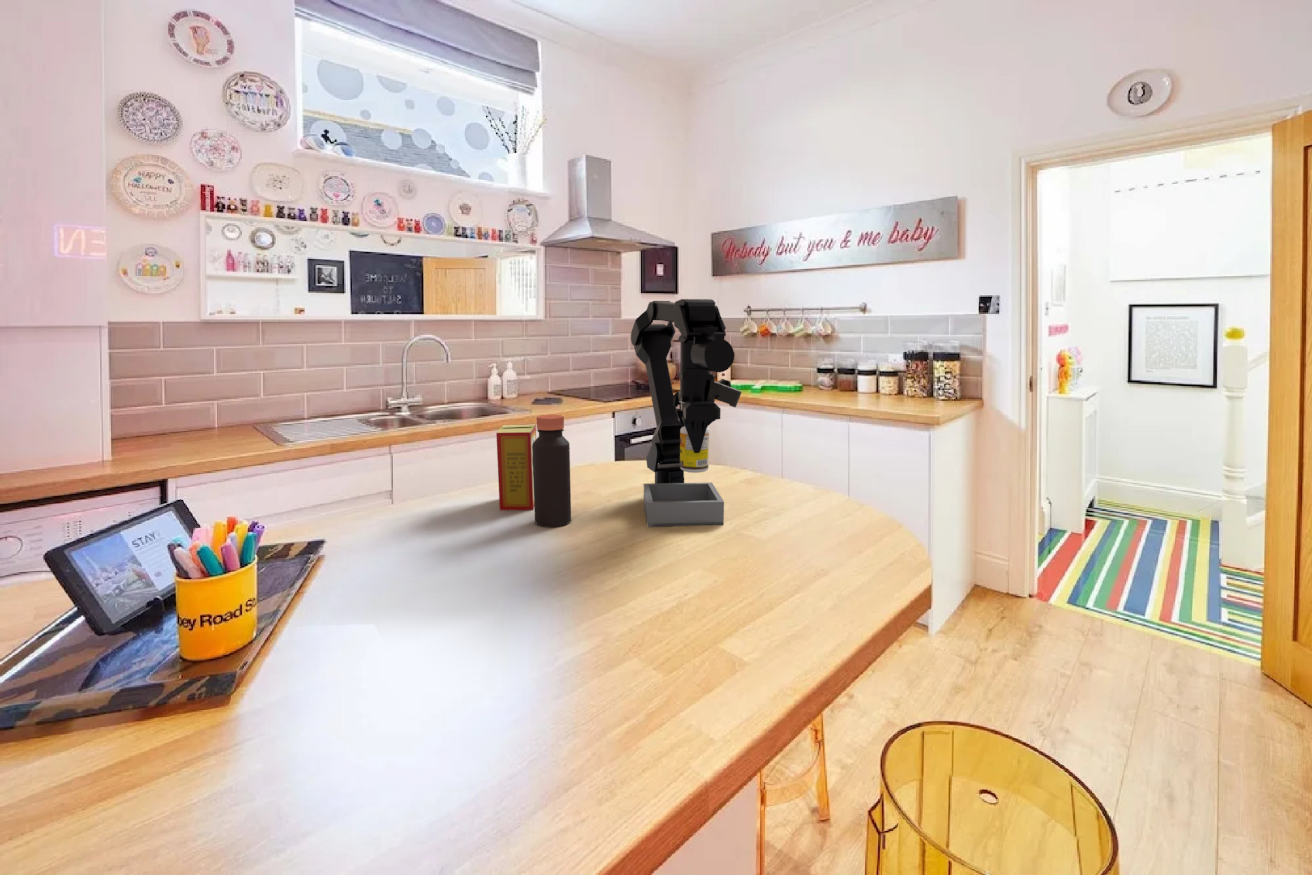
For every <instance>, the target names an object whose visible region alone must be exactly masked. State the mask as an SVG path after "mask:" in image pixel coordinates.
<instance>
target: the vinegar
mask: <svg viewBox="0 0 1312 875" xmlns="http://www.w3.org/2000/svg"><path fill="white" fill-rule="evenodd" d="M535 418H536V432H538V436H537V437H536V440H535V441H534V442H533V445H532V453H533V482H534V509H533V512H534V523H535V524H536V525H537V526H540V527H544V528H557V527H563V526H566V525H568V524H570V523H571V521H572V502H571V501H572V497H571V496H572V495H571V494H572V493H571V455H570V453H571V451H570V450H571V448H570V442H569V440H568V439H566V438H565V436H563V432H564V431H565V429H564V428H565V417H564V416H563V414H562V415H561V414H542V415H537V416H536V417H535Z"/></svg>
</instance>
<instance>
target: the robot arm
mask: <svg viewBox="0 0 1312 875" xmlns="http://www.w3.org/2000/svg"><path fill="white" fill-rule="evenodd" d="M723 320H724V319H723V318H722V316H721V313H720V309H719V307H718V306H717V305H716V302H715V301H714V299H712V298H710V299H708V298H707V299H706V298H705V299H704V298H699V299H698V298H680V299H679V300H676V301H675V302H673V301H670V300H653V301H649V302H648V305H647V307H646V310H645V311H643V312H642V313H641V314H639V316H638V317H637V318H635V320H634V324H633V326H632V328H631V332H630V340H631V345H632V346H633V349H634V353H635V356H636V357H637V358H638V359H639V360H640V361H641V362H642V363H643V364H644V366H645V369H646V376H647V382H648V387H649V392H650V398H651V402H652V408H653V414H654V417H655V418H654V419H655V425H656V428H655V431H654V433H653V434H652V438H651V446H650V449H649V451H648V453H647V455H646V458H645V460H646V467H647V469H649V470H650V471H652V472H653V473H654V483H685V471H683V470H681V468H680V429H681V428H682V427H684V426H685V428H686V431H687V434H688V437H689V440H690V443H691V446H692V448H693V451H694V453H700V451H701V447H702V443H703V440H704V436H705V432H706V429H707V428H708V427H709V426H710V425H711V424H713V423H714V422H715V421H717V420H721V412H722V411H721V407H720V406H718V404H717V403H715V400H716V401H718V402H722V403H725V404H728V405H729V406H730V407H733V408H737V406H738V402H739V400H740V399H741V398H740V397H741V395H742V391H741V390H739V389H737V388H735V387H732V383H731V381H730V380H728V379H724V378H721V379H720V380H718V381H715V380H716V379H715V377H716V376H715V375H714V374H713V373H712V372H715V373H723V372H725V371H727V370H729V369H730V368H731V366H732V365H733V364H734V361H735V351H734V348H733V347H732V345H731V344H730V342H728V341H727V340H726V339H725V337H726V336H727V333H726V325H725V323H724V321H723ZM654 321H663V322H667V324H665V323H653V322H654ZM675 328H676V329H678V331H679V332H680V334H681V335H680V336H679V337H678V340H677V341H678V342H679V343H680V359H679V360H680V362H679V364H680V365H679V366H680V371H678V378H679V382H680V383H679V384H680V385H679V391H677V392H675V393H674V391H673V385H672V379H671V374H670V370H669V365H668V360H667V357H668V355H669V353H670V350H671V348H672V340H673V338H674V336H675V333H676V330H675ZM677 407H679V408H677Z"/></svg>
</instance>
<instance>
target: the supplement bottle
mask: <svg viewBox="0 0 1312 875" xmlns="http://www.w3.org/2000/svg"><path fill="white" fill-rule="evenodd" d="M709 466H710V428H708V427H707V429H706V432H705V436H704V440H703V443H702V447H701V451H700V453H694V451H693V448H692V446H691V443H690V440H689V437H688V434H687V431H686V428H685V426H684V427H682V428H681V429H680V468H681V470H683V471H684V473H685V472H686V473H692V474H693V473H694V474H696V473H698V474H699V473H704V472H706V471H708V470H709Z"/></svg>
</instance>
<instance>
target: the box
mask: <svg viewBox="0 0 1312 875" xmlns="http://www.w3.org/2000/svg"><path fill="white" fill-rule="evenodd" d="M713 483H714V482H684V483H655V482H654V483H643V508H644V514H645V519H646V526H647V527H648V528H659V527H660V528H661V527H664V528H665V527H666V528H667V527H668V528H669V527H701V526H703V527H704V526H705V527H708V526H713V527H714V526H724V525H725V524H724V520H725V501H724V499H723V498H722V496H721V495H720V494H721V493H719V491H718V489H717V488H716V486H715V485H714V484H713Z"/></svg>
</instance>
